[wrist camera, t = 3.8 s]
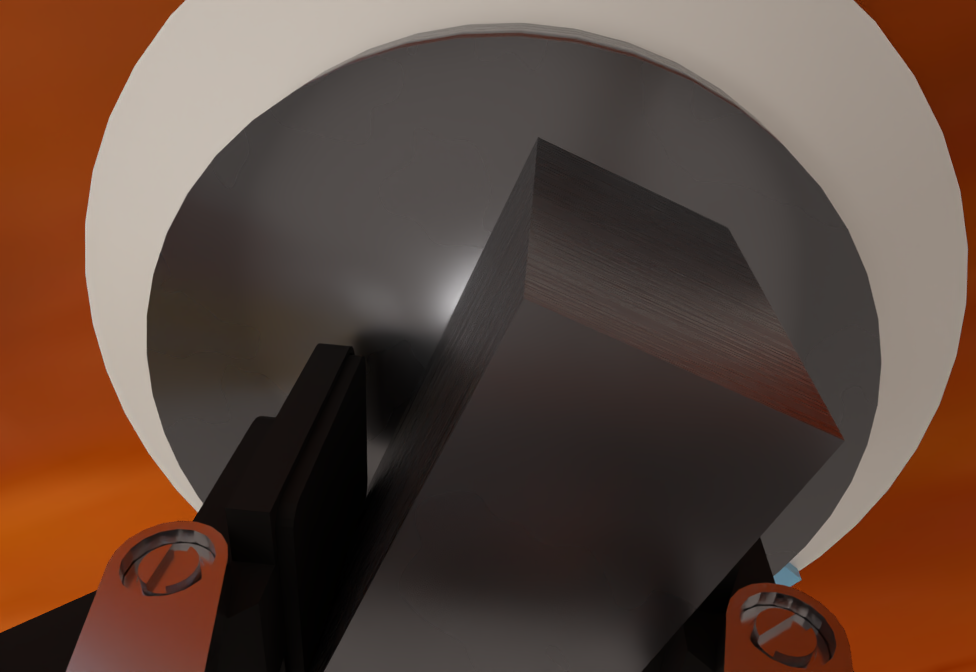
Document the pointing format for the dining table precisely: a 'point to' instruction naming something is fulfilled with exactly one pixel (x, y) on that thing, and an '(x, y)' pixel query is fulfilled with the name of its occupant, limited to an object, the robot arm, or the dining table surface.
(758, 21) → the dial housing
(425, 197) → the dial knob
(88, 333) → the dining table surface
